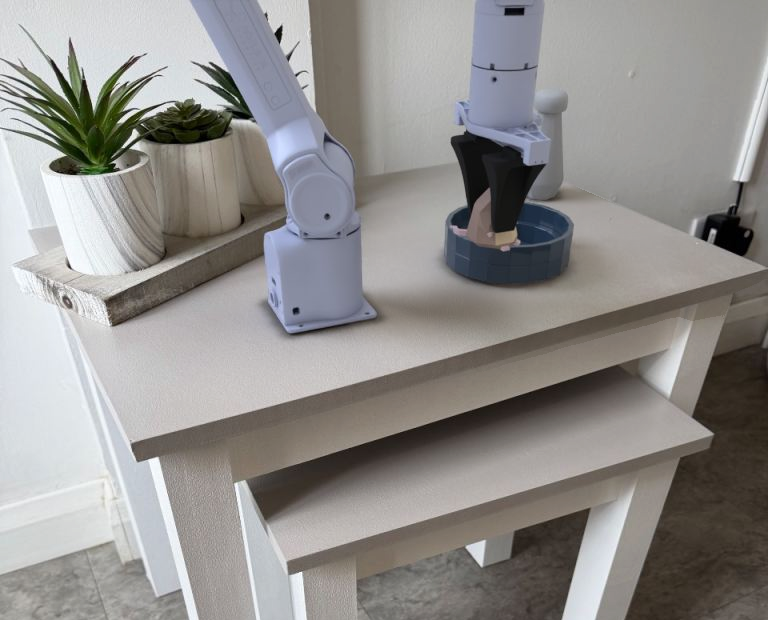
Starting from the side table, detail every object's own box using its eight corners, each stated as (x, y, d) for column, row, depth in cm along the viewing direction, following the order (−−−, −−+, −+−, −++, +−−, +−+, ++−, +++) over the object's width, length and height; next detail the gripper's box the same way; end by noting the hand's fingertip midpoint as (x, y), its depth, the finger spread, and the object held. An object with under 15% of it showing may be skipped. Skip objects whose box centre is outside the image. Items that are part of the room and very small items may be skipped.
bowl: (478, 296, 84) (481, 255, 81) (424, 248, 94) (425, 210, 91) (592, 275, 88) (599, 235, 85) (528, 230, 98) (533, 194, 95)
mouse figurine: (465, 220, 82) (469, 152, 78) (529, 240, 78) (537, 169, 74) (433, 234, 79) (436, 164, 75) (498, 255, 75) (505, 183, 71)
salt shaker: (560, 203, 106) (574, 96, 97) (517, 200, 106) (528, 94, 98) (561, 189, 110) (575, 85, 102) (520, 186, 111) (530, 83, 102)
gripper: (591, 77, 64) (566, 242, 73) (505, 45, 74) (493, 192, 83) (514, 85, 62) (498, 253, 71) (437, 51, 72) (432, 201, 81)
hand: (491, 221), depth 77 cm, fingers closed on mouse figurine, 4 cm apart
